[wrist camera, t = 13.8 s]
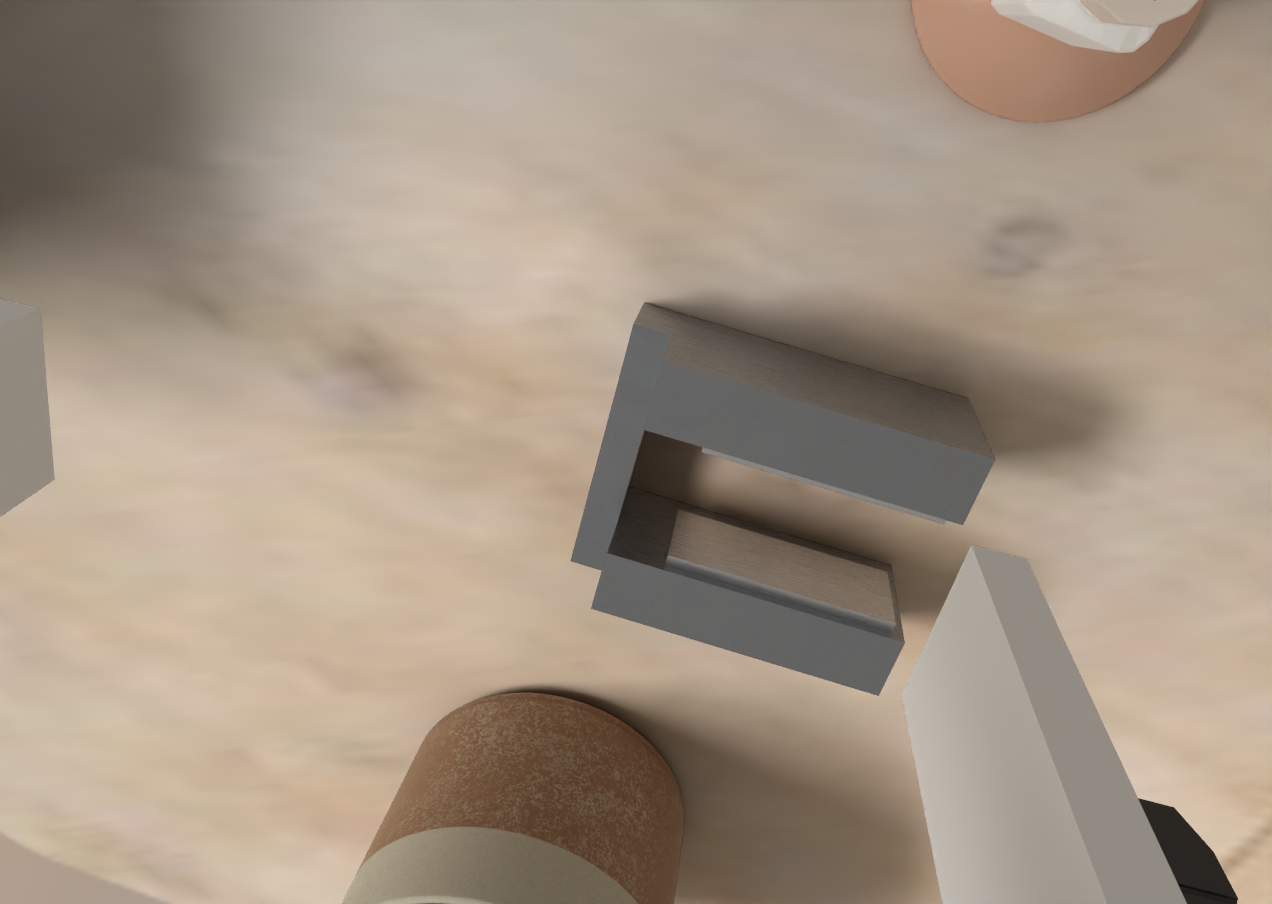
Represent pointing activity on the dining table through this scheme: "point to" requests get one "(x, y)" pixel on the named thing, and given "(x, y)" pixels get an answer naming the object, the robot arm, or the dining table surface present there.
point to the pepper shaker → (1095, 20)
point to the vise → (780, 444)
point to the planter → (528, 812)
